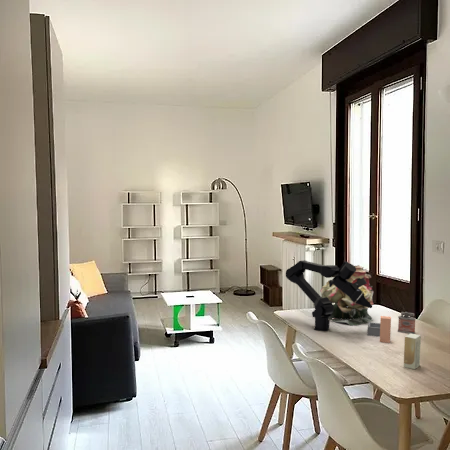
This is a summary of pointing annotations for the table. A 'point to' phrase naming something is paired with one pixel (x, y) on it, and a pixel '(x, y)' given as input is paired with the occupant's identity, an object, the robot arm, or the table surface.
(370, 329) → the well
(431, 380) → the table surface
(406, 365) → the skincare box
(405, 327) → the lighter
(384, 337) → the terracotta block
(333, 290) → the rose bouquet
